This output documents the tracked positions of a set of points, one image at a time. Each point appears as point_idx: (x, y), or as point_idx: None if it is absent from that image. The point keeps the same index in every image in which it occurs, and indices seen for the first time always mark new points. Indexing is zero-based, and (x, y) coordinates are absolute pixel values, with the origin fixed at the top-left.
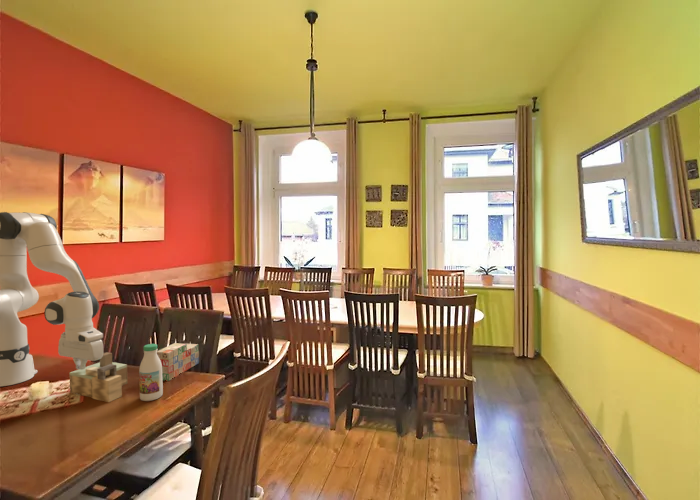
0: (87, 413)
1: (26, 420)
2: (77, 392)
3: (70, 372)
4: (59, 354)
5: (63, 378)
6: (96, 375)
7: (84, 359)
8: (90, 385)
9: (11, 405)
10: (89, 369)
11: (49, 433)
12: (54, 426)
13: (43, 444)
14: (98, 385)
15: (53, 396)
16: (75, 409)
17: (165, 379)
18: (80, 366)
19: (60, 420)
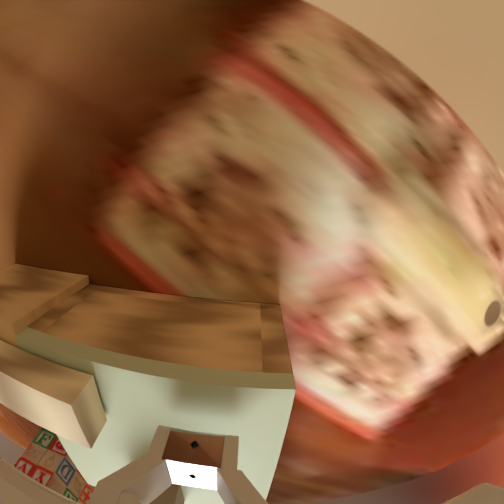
0: (7, 161)
1: (178, 11)
2: (210, 303)
3: (289, 393)
4: (491, 488)
5: (443, 389)
6: (4, 346)
7: (20, 472)
8: (73, 314)
9: (426, 104)
10: (40, 396)
11: (28, 33)
12: (39, 52)
13: (15, 15)
14: (5, 295)
15: (331, 239)
16: (60, 160)
17: (49, 434)
18: (158, 448)
19: (46, 79)
